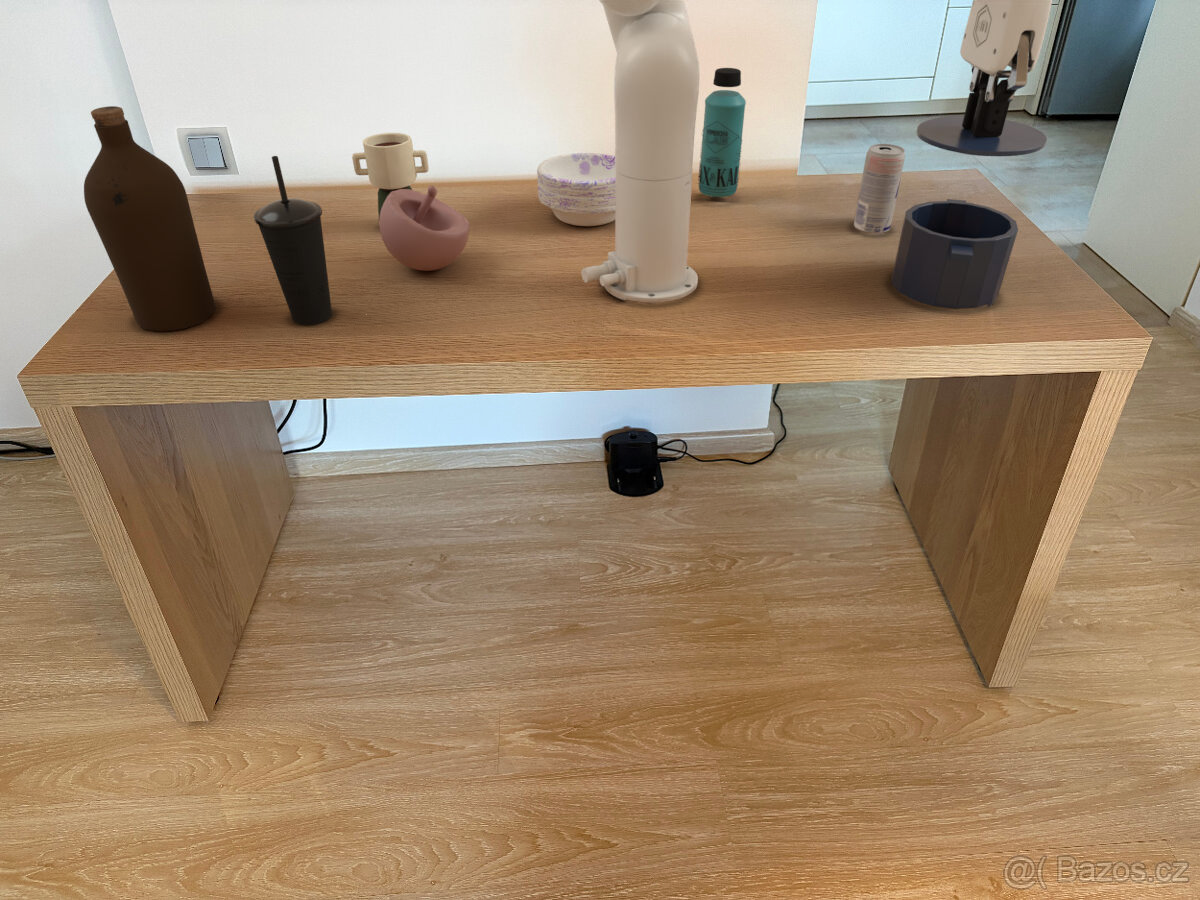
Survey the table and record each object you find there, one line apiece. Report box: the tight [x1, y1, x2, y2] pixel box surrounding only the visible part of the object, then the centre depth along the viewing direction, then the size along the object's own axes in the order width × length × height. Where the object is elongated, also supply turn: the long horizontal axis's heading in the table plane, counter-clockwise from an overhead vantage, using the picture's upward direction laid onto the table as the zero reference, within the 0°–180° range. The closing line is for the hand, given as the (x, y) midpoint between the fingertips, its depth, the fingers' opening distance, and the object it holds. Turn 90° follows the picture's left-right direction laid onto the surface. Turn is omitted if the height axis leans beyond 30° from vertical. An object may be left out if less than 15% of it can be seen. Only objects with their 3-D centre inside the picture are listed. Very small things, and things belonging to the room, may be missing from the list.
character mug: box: [351, 132, 430, 219], centre depth 127 cm, size 11×7×13 cm, turn 96°
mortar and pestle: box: [378, 185, 470, 272], centre depth 115 cm, size 12×12×11 cm
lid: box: [916, 87, 1048, 157], centre depth 98 cm, size 14×14×6 cm
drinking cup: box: [253, 155, 333, 326], centre depth 100 cm, size 8×8×20 cm
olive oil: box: [83, 105, 216, 332], centre depth 100 cm, size 11×11×25 cm
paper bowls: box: [536, 152, 615, 227], centre depth 130 cm, size 15×15×8 cm
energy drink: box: [853, 143, 906, 234], centre depth 124 cm, size 5×5×12 cm
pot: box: [891, 198, 1019, 310], centre depth 108 cm, size 13×19×10 cm
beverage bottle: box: [697, 67, 747, 198], centre depth 132 cm, size 6×7×20 cm
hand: (981, 130), depth 99 cm, fingers closed on lid, 2 cm apart
